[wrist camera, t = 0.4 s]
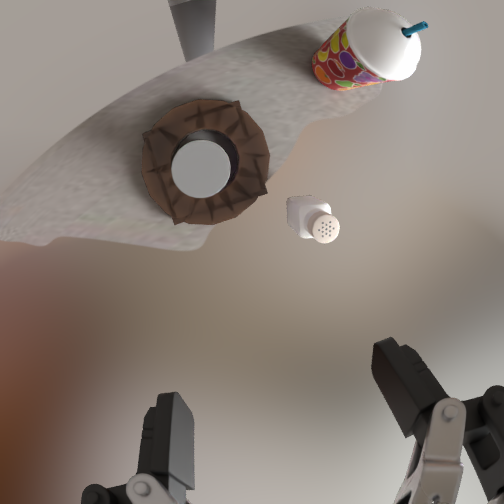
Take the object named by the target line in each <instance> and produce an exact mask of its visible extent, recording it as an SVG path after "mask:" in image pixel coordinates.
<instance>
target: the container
mask: <svg viewBox="0 0 504 504" xmlns="http://www.w3.org/2000/svg"><path fill="white" fill-rule="evenodd" d="M171 172H172V177H173V180H174V182H175V184H176V186H177V187H178V188H179V189H180V190H181V191H182V192H183V193H185V194H186V195H188V196H191V197H195V198H205V197H209V196H212V195H214V194H216V193H218V192H219V191H220V190H221V189H222V188H223V187H224V186H225V184H226V183H227V181H228V179H229V176H230V161H229V158H228V155H227V154H226V152H225V151H224V150H223V148H222V147H220V146H219V145H218V144H216V143H214V142H212V141H208V140H195V141H191V142H189V143H187V144H185V145H184V146H183V147H181V148H180V149H179V150H178V152H177V153H176V155H175V157H174V159H173V162H172V167H171Z"/></svg>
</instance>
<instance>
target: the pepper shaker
mask: <svg viewBox="0 0 504 504" xmlns="http://www.w3.org/2000/svg"><path fill="white" fill-rule="evenodd" d="M287 222H288V224H289V226H290V227H291V228H292V229H293V230H294V231H295V232H296V233H297V234H298V235H299V236H300V237H302V238H315V239H316V240H317V241H318V242H320V243H328V242H331V241H333V240H334V239H335V238H336V237H337V235H338V233H339V229H340V227H339V223H338V220H337V219H336V218H335V217H334V216H333V215H331V208H330V206H329V204H327V203H326V202H324V201H321V200H320V199H318V198H316V197H314V196H297V197H290V198H288V200H287Z"/></svg>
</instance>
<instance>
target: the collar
mask: <svg viewBox="0 0 504 504" xmlns="http://www.w3.org/2000/svg"><path fill="white" fill-rule="evenodd" d="M200 130H210V131H216V132H218V133H220V134H222V135H224V136H226V137H227V138H228V139H229V141H230V142H231V143H232V144H233V145H234V148H235V151H236V154H237V157H238V158H237V169H236V171H235V173H234V175H233V177H232V179H231V181H230V182H228V183H227V184H226V185H225V186H224V187H223V188H222V189H221V190H220V191H219V192H218V193H216V194H214V195H212V196H209V197H205V198H195V197H191V196H188V195H186V194H185V193H183V192H182V191H181V190H180V189H179V188H178V187H177V186H176V184H175V182H174V180H173V177H172V172H171V167H172V162H173V159H174V154H175V152H176V150H177V148H178V146H179V144H180V142H181V141H182V140H184V139H185V138H186V137H187V136H188V135H189V134H192V133H194V132H197V131H200ZM142 135H143V138H144V141H145V145H144V147H143V154H142V175H143V178H144V181H145V184H146V187H147V189H148V192H149V195H150V196H151V198H152V199H153V200H154V201H155V202H156V203H157V204H158V205H159V206H160V207H161V208H162V209H163V210H164V212H165V213H167V214H168V215H171V217H172V219H173V222H174V225H176V224H179V223H182V222H186V223H189V224H204V225H214V224H217V223H220V222H223V221H226V220H229V219H232V218H235V217H237V216H238V215H239V214H241V213H242V212H243V211H244V210H245V209H247V208H248V207H249V206H250V205H251V204H253V203H254V202H255V201H256V199H257V198H258V196H261V195H265V194H267V189H266V186H265V183H266V181H267V178H268V169H269V159H270V153H269V150H268V147H267V143H266V140H265V137H264V134H263V131H262V130H261V128H260V127H259V126H258V125H257V124H256V123H255V121H254V120H253V119H252V118H251V117H250V116H249V114H248V113H247V112H245V111H243V110H242V109H241V106H240V102H239V100H238V101H234V102H231V103H227V102H225V101H219V100H202V99H198V100H195V101H192V102H189V103H186V104H183V105H180V106H177V107H175V108H173V109H171V110H170V111H169V112H168V113H167V114H166V115H165V116H163V117H162V118H161V119H160V120H159V121H158V122H157V123H156V124H155V125H154V126H153V128H152V130H150V131H148V132H145V133H143V134H142Z"/></svg>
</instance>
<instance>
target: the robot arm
mask: <svg viewBox="0 0 504 504" xmlns="http://www.w3.org/2000/svg"><path fill="white" fill-rule="evenodd" d="M371 369H372V374H373V377H374V379H375V381H376V383H377V385H378V387H379V389H380V390H381V392H382V394H383V396H384V398H385V400H386V402H387V403H388V405H389V407H390V409H391V411H392V413H393V415H394V417H395V418H396V421H397V422H398V424H399V426H400V428H401V430H402V432H403V434H404V436H405V438H407V437H409V436H411V435H413V434H414V436H415V438H416V442H415V446H414V449H413V453H412V456H411V460H410V464H409V467H408V470H407V473H406V476H405V479H404V482H403V484H402V485H401V487H400V489H399V491H398V494H397V496H396V499H395V501H394V504H433V503H432V502H433V501H434V504H455V502H456V498H457V494H458V490H459V487H460V482H461V478H462V474H463V464H462V463H461V462H460V456H461V450H462V445H463V446H464V448H465V449H466V451H467V454H468V456H469V458H470V460H471V462H472V464H473V467H474V469H475V471H476V473H477V476H478V478H479V480H480V483H481V485H482V487H483V490H484V492H485V495H486V497H487V500H488V504H504V387H503V386H499V385H496V386H492V387H490V388H489V389H487V391H486V392H485V394H484V395H483V396H481V397H477V398H474V399H470V400H466V401H460V400H458V399H456V398H451V397H449V396H448V395H447V394H446V392H445V391H444V389H443V388H442V386H441V385H440V384H439V382H438V381H437V379H436V378H435V377H434V375H433V374H432V372H431V371H430V370H429V369H428V368H427V365H426V364H425V363H424V361H422V359H421V357H420V356H419V354H418V353H417V352H416V351H415V350H414V349H412V348H410V347H409V346H407V345H403V346H399V345H398V344H397V342H396V341H395V340H394V339H393V338H392V337H389V338H387V339H384V340H382V341H379V342H376V343H374V346H373V355H372V365H371ZM194 487H195V486H194V419H193V415H192V412H191V410H190V409H189V408H188V406H187V405H186V403H185V402H184V400H183V399H182V398H181V396H180V395H179V393H178V392H171V393H162V394H159V395H158V397H157V405H156V407H150V408H149V410H148V412H147V414H146V415H145V417H144V424H143V431H142V439H141V445H140V453H139V461H138V469H137V473H136V475H135V476H133V477H132V478H130V479H129V481H128V483H127V484H124V485H120V486H116V487H111V488H104V487H103V486H101V485H99V484H91V485H89V486H87V487H86V488H85V489H84V491H83V493H82V500H81V504H191V503H190V501H189V500H187V498H186V490H194V489H195V488H194Z"/></svg>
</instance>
